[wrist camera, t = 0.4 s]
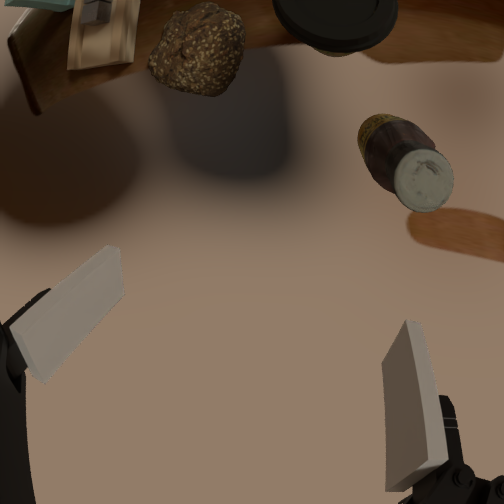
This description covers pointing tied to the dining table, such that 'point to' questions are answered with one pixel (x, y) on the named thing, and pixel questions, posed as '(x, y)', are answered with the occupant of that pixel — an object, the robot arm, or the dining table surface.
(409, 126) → the sauce bottle
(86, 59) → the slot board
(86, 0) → the chip
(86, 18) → the chip
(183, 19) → the bread roll
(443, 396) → the robot arm
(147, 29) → the dining table surface
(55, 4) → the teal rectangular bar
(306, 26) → the coffee cup
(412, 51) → the dining table surface
